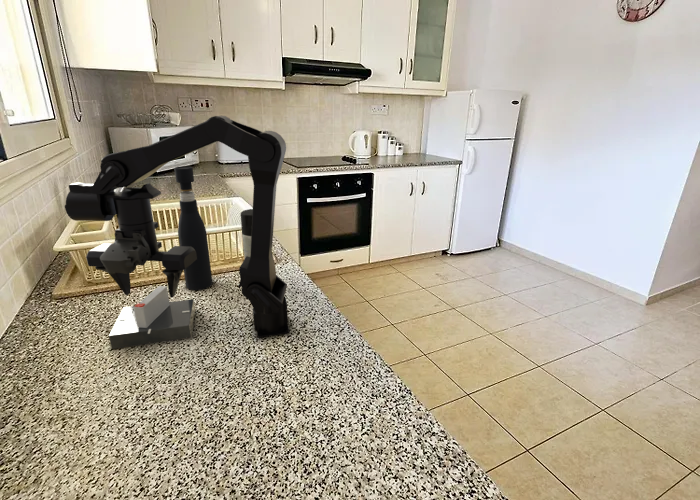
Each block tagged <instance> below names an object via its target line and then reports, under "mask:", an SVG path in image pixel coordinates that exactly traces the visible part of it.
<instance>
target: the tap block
mask: <svg viewBox="0 0 700 500" xmlns="http://www.w3.org/2000/svg"><path fill="white" fill-rule="evenodd" d="M134 307H135V305H131V306H123V307H122V309H121V311H120V312H119V315H118V317H117V319H116V321H115V323H114V325H113V327H112V329H111V331H110V333H109V334H108V340H109V343H110V347H111V350H115V349H123V348H131V347H137V346H144V345H151V344H159V343H166V342H172V341H180V340H187V339H192V335H193V328H194V321H195V316H196V305H195V300H194V298H193V299H185V300H175V301H170V306H169V307H168V308H166V309H165V310H164V311H163V312H162V313H161V314H160V315H159V316H158V317H157V318H156V319H155V320H154V321H153V322H152V323H151V324H150V325H149V326H148V327H147V328H138V326H137V321H136V316H135V312H134Z"/></svg>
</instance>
